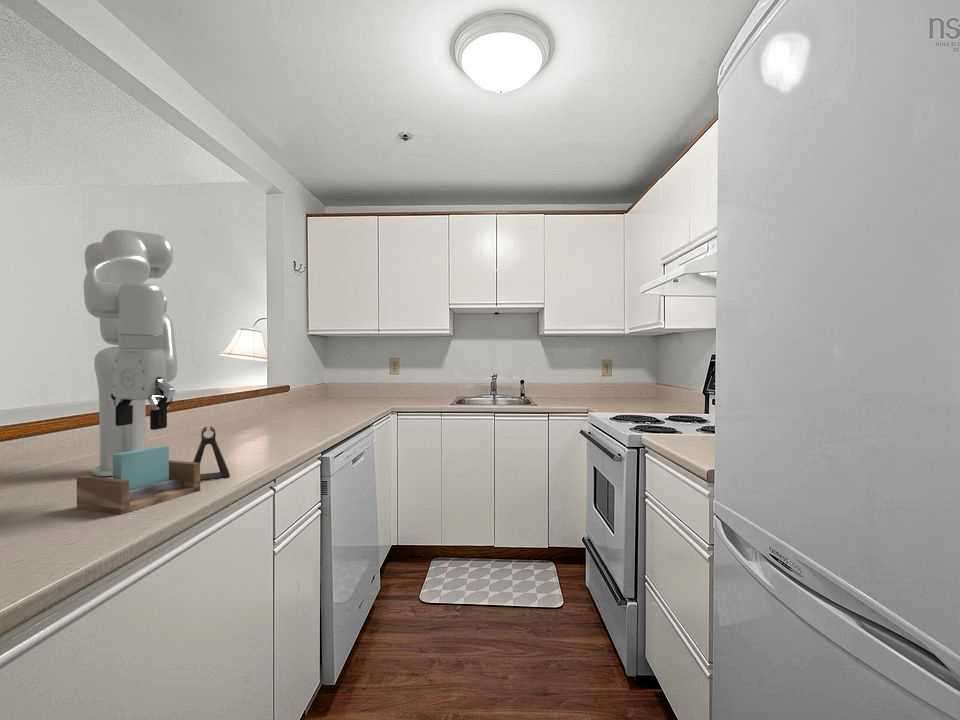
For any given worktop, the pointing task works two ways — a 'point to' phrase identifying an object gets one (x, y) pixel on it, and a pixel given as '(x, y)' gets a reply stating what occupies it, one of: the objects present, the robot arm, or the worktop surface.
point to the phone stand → (219, 458)
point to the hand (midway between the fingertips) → (141, 426)
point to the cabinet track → (136, 490)
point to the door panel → (142, 466)
